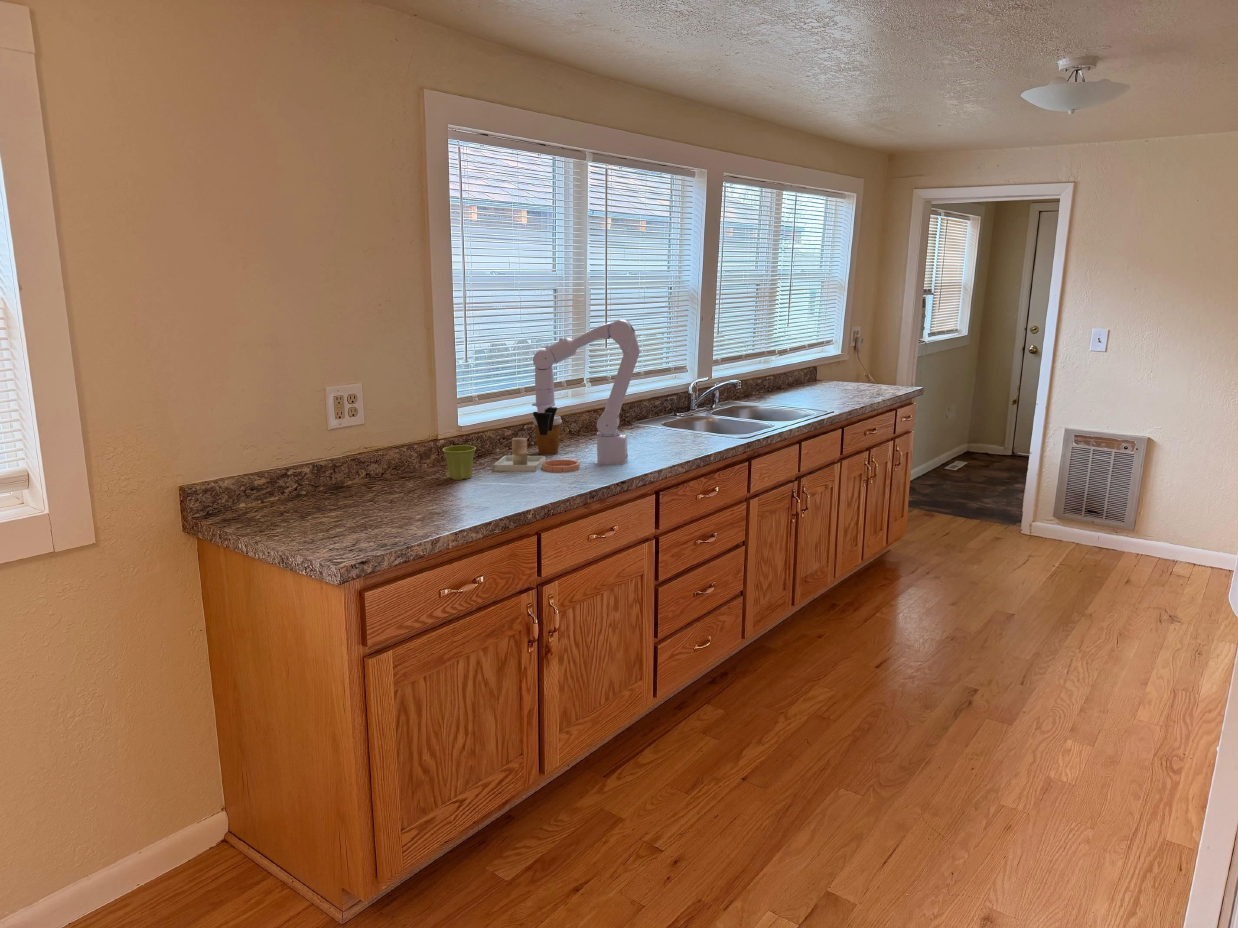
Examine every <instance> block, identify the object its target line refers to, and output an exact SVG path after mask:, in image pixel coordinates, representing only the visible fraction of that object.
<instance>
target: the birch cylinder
mask: <svg viewBox="0 0 1238 928" xmlns="http://www.w3.org/2000/svg"><path fill="white" fill-rule="evenodd" d="M527 440H528V438H526V437H513V438H511V448H512V449H511V450H512V451H511V452H512V456H513V465H527V456H528V441H527Z"/></svg>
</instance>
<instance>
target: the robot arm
mask: <svg viewBox="0 0 1238 928" xmlns="http://www.w3.org/2000/svg"><path fill="white" fill-rule="evenodd" d="M600 339H602V340H610V339H612V340H613V341H614V342H615V343H616V344H617V345H618V347H619V348H620V350H621V352H622V358H621V361H620V364H619V367H618V370H617V373H616V375H615V378H614V381H613V385H612V388H611V390H610V393H609V397H608V400H607V403H606V405H605V408H604V411H603V413H602V414H601V415H600V417H599V418H598V419H597V422H596V428H597V432H596V460H595V461H594V463H593V464H594V465H595V464H596V465H626V464H627V462H628V460H629V458H628V457H629V453H628V435H627V434H621V431H619V429H618V427H619V425H620V421H621V420H620V414H621V410H622V406H623V404H624V399H625V397H626V394H627V391H628V389H629V386H630V383H631V379H632V377H633V374H634V370H635V368H636V364H637V362H638V360H639V359H638V358H639V357H640V352H641V349H640V346H639V342H638V338H637V335H636V330H635V328H634V327H633V325H632V324H631V323H630V321H629V320H627V319H623V318H620V319H617V320H614V321H611V322H607V323H604V324H602V325H599V326H596V327H594V328H592V329H591V330H588V331H587V332H584V333H583V334H581V335H579V336H577V337H575V338H573V339H572V338H569V337H565V338H564V337H561V338H558V341H557V342H555V343H552V344H551V345H549V344H548V345H545V346H544V348H545V349H544V348H543V349H540V350H538V351H536V352H535V354H534V355H533V357H532V362H533V365H534V366H535V367H534V386H535V387H534V389H535V390H534V391H535V402H532V403H531V406H532V407H534V406H535V408H536V409H537V411H533V412H532V415H533V418H534V417H535V419H536V421H537V424H538V428H539V432H540V435H547V434H548V431H552V428H553V422H554V417H555V415H556V413H557V411H558V407H556V403H555V378H554V377H555V376H554V367H553V366H554V364H559V363H560V362H563V361H565V360H567V359H569V358H571V357H573V356H575V355H576V354H577V350H578V349H580V348H582V347H584V346H586V345H589V344H591V343H593V342H595V341H598V340H600Z"/></svg>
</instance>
